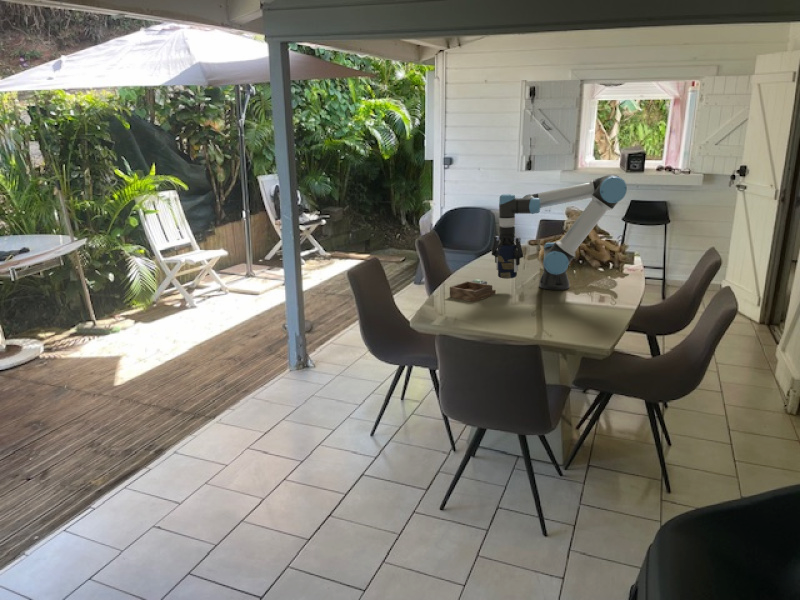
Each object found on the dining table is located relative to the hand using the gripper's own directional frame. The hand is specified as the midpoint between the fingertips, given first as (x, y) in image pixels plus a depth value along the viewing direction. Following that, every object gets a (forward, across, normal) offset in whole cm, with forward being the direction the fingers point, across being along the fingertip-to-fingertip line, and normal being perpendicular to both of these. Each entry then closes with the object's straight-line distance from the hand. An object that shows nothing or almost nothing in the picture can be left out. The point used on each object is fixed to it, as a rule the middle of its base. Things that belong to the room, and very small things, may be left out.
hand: (507, 270), depth 306 cm
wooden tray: (+10, +10, +16) cm, 22 cm away
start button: (+10, +16, +3) cm, 19 cm away
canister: (+4, 0, 0) cm, 4 cm away
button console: (+10, +16, +3) cm, 19 cm away
